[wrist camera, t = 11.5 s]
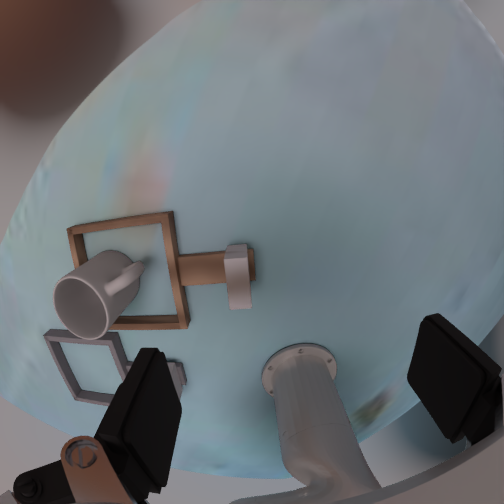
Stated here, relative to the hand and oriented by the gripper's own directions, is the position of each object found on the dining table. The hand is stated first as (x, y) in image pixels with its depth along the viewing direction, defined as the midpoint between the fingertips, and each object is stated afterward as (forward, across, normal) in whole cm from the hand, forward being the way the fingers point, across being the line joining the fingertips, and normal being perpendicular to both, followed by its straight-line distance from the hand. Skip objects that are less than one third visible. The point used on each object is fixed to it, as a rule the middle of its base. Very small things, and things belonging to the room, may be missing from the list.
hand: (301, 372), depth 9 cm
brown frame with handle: (+28, +14, +5) cm, 32 cm away
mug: (+28, +20, +5) cm, 35 cm away
